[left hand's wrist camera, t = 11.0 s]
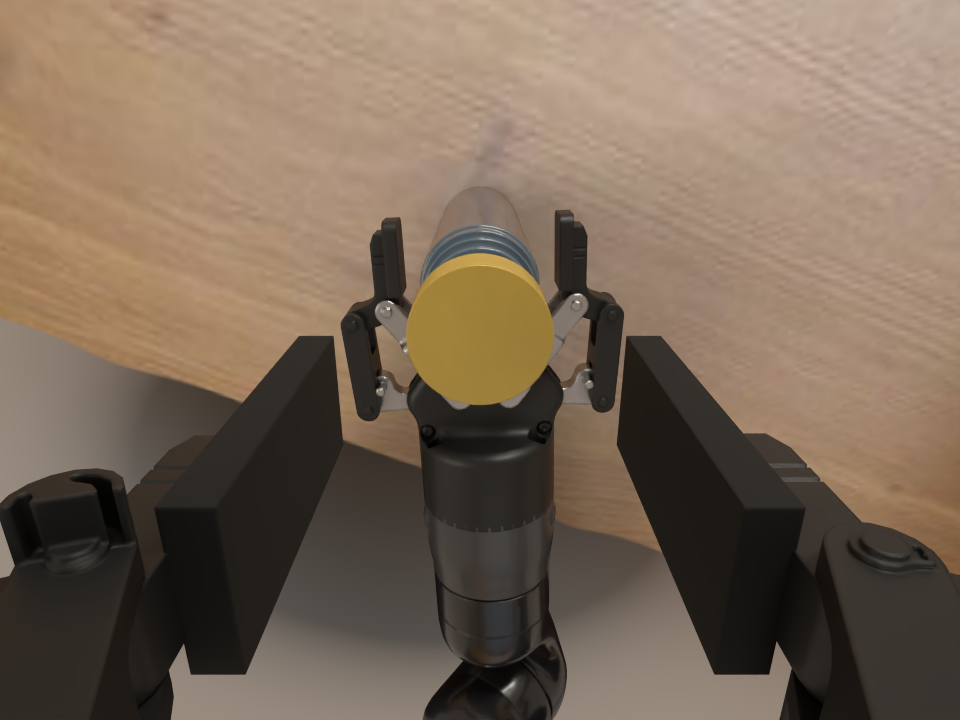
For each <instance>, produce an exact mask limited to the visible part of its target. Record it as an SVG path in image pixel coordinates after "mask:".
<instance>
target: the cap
mask: <svg viewBox="0 0 960 720" xmlns="http://www.w3.org/2000/svg"><path fill="white" fill-rule="evenodd" d="M406 343H407V349H408V353H409V356H410V359H411V361H412V364H413V366H414V368H415V369H416V371H417V372H418V374H419V375H420V377H421V378H422V379H423V380H424V381H425V382H426V383H427V384H428V385H429V386H430V387H431V388H432V389H434V390H435V391H436V392H438V393H439V394H441V395H443V396H445V397H447V398H449V399H451V400H454V401H457V402H460V403H464V404H471V405H489V404H495V403H500V402H503V401H506V400H509V399H511V398H513V397H515V396H517V395H519V394H521V393H522V392H524V391H525V390H527V389H528V388H529V387H530V386H531V385H532V384H533V383H534V382H535V381H536V380H537V379H538V378H539V377H540V375H541V374H542V372H543V371H544V369H545V368H546V366H547V364H548V362H549V359H550V356H551V353H552V349H553V344H554V326H553V321H552V316H551V314H550V311H549V308H548V305H547V303H546V300H545V297H544V294H543V292H542V290H541V288H540V287H539V285H538V283H537V282H536V281H535V279H534V278H533V277H532V276H531V275H530V274H529V273H528V272H527V271H526V270H525V269H524V268H522V267H521V266H520V265H518V264H516V263H515V262H513V261H511V260H509V259H506V258H504V257H501V256H497V255H492V254H483V253H476V254H467V255H463V256H459V257H456V258H454V259H451V260H449V261H447V262H445V263H443V264H442V265H440V266H439V267H438V268H436V269H435V270H434V271H433V272H432V273H431V274H430V275H429V276H428V277H427V278H426V279H425V281H424V282H423V283H422V285H421V287H420V288H419V290H418V292H417V295H416V297H415V300H414V302H413V305H412V308H411V311H410V313H409V317H408V321H407V327H406Z"/></svg>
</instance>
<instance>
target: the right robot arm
mask: <svg viewBox="0 0 960 720" xmlns="http://www.w3.org/2000/svg"><path fill="white" fill-rule="evenodd" d="M370 252H371V262H372V271H373V281H374V291H375V295H374V297H373V298H371V299H369V300H366V301H364V302H357V303H355V304H353V305H352V307H351V308H350V310H349V311H348V312H347V314H346V315H345V317H344V318H343V320H342V322H341V330H342V336H343V341H344V346H345V351H346V357H347V362H348V367H349V373H350V378H351V383H352V388H353V394H354V399H355V404H356V410H357V414H358V416H359V417H360V418H361V419H363V420H365V421H373V420H375V419H376V418H377V417H378V416H379V413H380V412H383V411H394V410H405V409H409V410H410V411H411V413H412V414H413V415H414V417H415V419H416V421H417V424H418V428H419V439H420V451H421V463H422V475H423V487H424V499H425V507H424V520H425V524H426V526H427V534H428V540H429V545H430V549H431V553H432V557H433V561H434V568H435V581H436V593H437V605H438V616H439V622H440V627H441V631H442V634H443V637H444V639H445V641H446V643H447V645H448V647H449V648H450V649H451V651H452V652H453V653H454V654H455V655H456V656H457V657H459V658H460V659H462V660H463V662H462V663H461V664H460V665H459V666H458V668H457V669H456V670H455V671H454V672H453V673H452V675H451V676H450V677H449V678H448V679H447V680H446V682H445V683H444V684H443V685H442V686H441V687H440V688H439V690H438V691H437V692H436V693H435V694H434V696H433V697H432V698H431V700H430V702H429V703H428V705H427V707H426V709H425V712H424V716H423V720H553V719H554V717H555V715H556V714H557V712H558V710H559V708H560V706H561V703H562V700H563V697H564V693H565V688H566V679H567V668H566V662H565V658H564V655H563V652H562V648H561V645H560V642H559V639H558V635H557V632H556V629H555V625H554V623H553V620H552V618H551V615H550V613H549V610H548V609H549V557H550V550H551V545H552V538H553V523H554V520H555V505H554V499H553V496H554V419H555V416H556V413H557V411H558V409H559V408H560V406H561V405H562V404H591V405H592V407H593V408H594V410H596V411H597V412H601V413H604V412H607V411H609V410H611V409H612V407H613V406H614V402H615V393H616V383H617V374H618V365H619V356H620V347H621V338H622V329H623V320H624V312H623V310H622V308H621V307H620V306H619V305H618V304H617V303H616V302H615V299H614V298H613V297H612V295H611V294H609V293H606V292H601V293H600V292H597V291H594V290H591V289H589V288H587V286H586V272H587V234H586V231H585V229H584V226H583V225H582V224H581V223H580V222H574V215H573V213H572V212H571V211H570V210H556V211H555V283H556V285H557V287H558V289H559V290H558V291H557V293H556V294H555V295H554V297H553V298H552V299H551V300H550V302H549V303H548V304H547V305H548V308H549V311H550V314H551V316H552V321H553V326H554V344H553V349H552V353H551V356H550V359H549V362H548V364H549V363H550V361H551V360H552V359H553V358H554V356H555V355H556V354H557V353H558V351H559V350H560V349H561V347H562V346H563V344H564V341H565V338H566V337H567V335H568V334H569V333H570V331H571V330H572V329H573V328H574V326H575V325H576V324H577V323H578V321H579V320H580V319H581V318H582V317H584V318H587V319H590V330H589V341H588V352H587V363H582V364H580V365H578V366H577V367H576V368H575V370H574V373H573V376H572V377H571V378H570V379H569V380H568V381H565V382H560V379H559V377H558V376H557V375H556V374H555V372H554V371H553V370H552V369H551V367H550V366H549V365H548V364H547V366H546V368H545V369H544V371H543V372H542V374H541V375H540V377H539V378H538V379H537V380H536V381H535V382H534V383H533V384H532V385H531V386H530V387H529V388H528V389H527V390H525V391H524V392H522V393H521V394H519V395H517V396H515V397H513V398H511V399H509V400H506V401H503V402H500V403H495V404H489V405H471V404H464V403H460V402H457V401H454V400H451V399H449V398H447V397H445V396H443V395H441V394H439V393H438V392H436V391H435V390H434V389H432V388H431V387H430V386H429V385H428V384H427V383H426V382H425V381H424V380H423V379H422V378H421V377H420V375H419V374H418V373H417V374H416V376H415V377H414V378H413V380H412V381H411V383H410V386H409V387H407V388H406V387H402V386H400V385H399V384H398V383H397V382H396V379H395V377H394V375H393V374H392V373H391V372H389V371H386V370H382V367H381V361H380V355H379V349H378V343H377V337H376V331H375V327H378V326H380V325H383V326H384V327H385V328H386V329H387V330H388V331H389V332H390V333H391V334H392V336H393V337H394V338H395V339H396V340H397V341H398V342H399V343H400V345H401V348H402V350H403V351H404V353H405V354H406V355H407V356H408V357H409V359H410V356H409V353H408V349H407V343H406V327H407V321H408V317H409V313H410V311H411V308H412V304H411V303H410V302H409V301H408V300H407V298H406V297H405V296H404V295H403V293H404V291H405V289H406V276H405V264H404V252H403V240H402V228H401V220H400V217H397V218H385V219H384V220H383V221H382V225H381V230H377V231H376V232H375V233H374V234H373V236H372V240H371V243H370ZM410 360H411V359H410Z"/></svg>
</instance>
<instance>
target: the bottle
mask: <svg viewBox="0 0 960 720" xmlns="http://www.w3.org/2000/svg"><path fill="white" fill-rule="evenodd" d="M476 253H483V254H492V255H497V256H501V257H504V258H506V259H509V260H511V261H513V262H515V263H516V264H518V265H520V266H521V267H522V268H524V269H525V270H526V271H527V272H528V273H529V274H530V275H531V276H532V277H533V278H534V279H535V281H536V282H537V283H538V285H539V273H538V268H537V265H536V262H535V259H534V257H533V254H532V252H531V249H530V247H529V244H528V242H527V239H526V237H525V234H524V232H523V229H522V227H521V224H520V222H519V219H518V217H517V214H516V212H515V209H514V207H513V205H512V204H511V202H510V201H509V200H508V199H507V198H506V197H505V196H504V195H503V194H501V193H500V192H498V191H496V190H494V189H491V188H487V187H473V188H469V189H466V190H464V191H462V192H460V193H459V194H457V195H456V196H455V197H454V198H453V199H452V200H451V201H450V202H449V204H448V206H447V207H446V209H445V212H444V214H443V217H442V219H441V222H440V224H439V227H438V229H437V232H436V234H435V237H434V239H433V242H432V244H431V247H430V249H429V252H428V254H427V257H426V259H425V262H424V264H423V268H422V272H421V285H422V283H423V282H424V281H425V279H426V278H427V277H428V276H429V275H430V274H431V273H432V272H433V271H434V270H435V269H436V268H438V267H439V266H440V265H442V264H443V263H445V262H447V261H449V260H451V259H454V258H456V257H459V256H463V255H467V254H476Z"/></svg>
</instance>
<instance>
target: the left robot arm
mask: <svg viewBox="0 0 960 720" xmlns="http://www.w3.org/2000/svg"><path fill="white" fill-rule="evenodd" d="M342 446H343V438H342V426H341V415H340V404H339V393H338V382H337V370H336V359H335V348H334V337H333V336H299V337H298V338H297V339H296V340H295V342H294V343H293V344H292V345H291V346H290V348H289V349H288V350H287V351H286V352H285V353H284V355H283V356H282V357H281V358H280V359H279V361H278V362H277V363H276V364H275V365H274V366H273V368H272V369H271V370H270V371H269V372H268V374H267V375H266V376H265V377H264V378H263V379H262V381H261V382H260V383H259V384H258V385H257V387H256V388H255V389H254V390H253V391H252V392H251V394H250V395H249V396H248V397H247V398H246V400H245V401H244V402H243V403H242V404H241V405H240V407H239V408H238V409H237V410H236V411H235V413H234V414H233V415H232V416H231V417H230V418H229V420H228V421H227V422H226V423H225V424H224V426H223V427H222V428H221V429H220V430H219V431H218V433H217V434H216V435H215V436H193V437H191V438H190V439H188V440H186V441H184V442H183V443H181V444H179V445H177V446H176V447H174V448H172V449H170V450H169V451H168V452H167V453H166V454H165V455H164V456H163V457H162V458H161V460H160V461H159V462H158V463H157V464H156V465H155V466H154V470H150V471H149V472H148V473H147V474H146V475H145V476H144V477H143V478H142V480H141V483H140V484H137V485H136V486H135V487H134V488H133V489H132V490H131V491H130V492H129V493H128V494H127V493H126V489H125V485H124V481H123V477H121V476H120V475H118V474H117V473H115V472H114V471H109V470H103V469H97V468H96V469H80V470H73V471H68V472H63V473H59V474H55V475H51V476H48V477H45V478H43V479H40V480H37V481H35V482H32V483H30V484H27V485H26V486H24V487H22V488H20V489H19V490H17V491H15V492H13V493H12V494H10V495H8V496H7V497H6V498H5V499H4V500H3V501H2V502H1V503H0V522H1V525H2V528H3V531H4V534H5V537H6V540H7V543H8V546H9V549H10V552H11V555H12V558H13V561H14V565H15V567H14V569H13V570H12V572H11V574H10V576H8V577H4V578H0V720H171V713H172V706H173V698H174V695H173V688H172V682H171V678H170V674H169V669H170V667H171V665H172V663H173V661H174V660H175V658H176V656H177V655H178V653H179V651H180V649H181V648H182V646H183V644H184V646H185V650H186V655H187V659H188V664H189V668H190V672H191V674H192V675H245V674H246V672H247V670H248V668H249V665H250V663H251V660H252V658H253V656H254V653H255V651H256V649H257V646H258V644H259V642H260V639H261V637H262V635H263V632H264V630H265V627H266V625H267V623H268V620H269V618H270V616H271V613H272V611H273V609H274V606H275V604H276V602H277V599H278V597H279V595H280V592H281V590H282V587H283V585H284V583H285V580H286V578H287V576H288V573H289V571H290V569H291V566H292V564H293V562H294V559H295V557H296V555H297V552H298V550H299V547H300V545H301V543H302V540H303V538H304V536H305V533H306V531H307V528H308V526H309V524H310V521H311V519H312V517H313V514H314V512H315V510H316V507H317V505H318V503H319V500H320V498H321V496H322V493H323V491H324V489H325V486H326V484H327V482H328V479H329V477H330V474H331V472H332V470H333V467H334V465H335V463H336V460H337V458H338V456H339V453H340V451H341V449H342ZM617 446H618V449H619V451H620V453H621V456H622V458H623V460H624V463H625V465H626V467H627V470H628V472H629V474H630V477H631V479H632V482H633V484H634V486H635V489H636V491H637V493H638V496H639V498H640V500H641V503H642V505H643V507H644V510H645V512H646V515H647V517H648V519H649V522H650V524H651V526H652V529H653V531H654V533H655V536H656V538H657V540H658V543H659V545H660V547H661V550H662V552H663V555H664V557H665V559H666V562H667V564H668V566H669V569H670V571H671V573H672V576H673V578H674V580H675V583H676V585H677V587H678V590H679V592H680V594H681V597H682V599H683V602H684V604H685V606H686V609H687V611H688V613H689V616H690V618H691V620H692V623H693V625H694V627H695V630H696V632H697V634H698V637H699V639H700V642H701V644H702V646H703V649H704V651H705V653H706V656H707V658H708V660H709V663H710V665H711V668H712V670H713V672H714V674H715V675H769V673H770V668H771V664H772V659H773V655H774V650H775V646H776V641H777V643H778V644H779V646H780V648H781V649H782V651H783V653H784V655H785V656H786V658H787V660H788V662H789V663H790V665H791V667H792V670H791V674H790V678H789V682H788V686H787V691H786V695H785V699H784V703H783V707H782V712H781V716H780V720H960V575H956V574H952V573H949V571H948V569H947V567H946V565H945V564H944V563H943V562H942V561H941V559H940V558H939V557H938V556H937V555H936V554H935V552H934V551H932V550H931V549H929V548H928V547H927V546H925V545H924V544H922V543H921V542H919V541H918V540H916V539H915V538H912V537H910V536H908V535H906V534H903V533H901V532H899V531H896V530H894V529H891V528H887V527H884V526H880V525H876V524H872V523H863V522H861V521H860V520H859V519H858V518H857V516H856V515H855V514H854V513H853V512H852V511H851V510H850V509H849V508H848V507H847V506H846V505H845V504H844V503H843V502H842V501H841V500H840V499H839V498H838V497H837V496H836V495H835V493H834V492H833V491H832V490H831V489H830V488H829V487H828V486H827V485H826V484H825V483H824V482H820V478H819V477H818V476H817V475H816V474H815V473H814V471H813V470H812V469H811V468H807V464H806V463H805V462H804V461H803V460H802V459H801V458H800V457H799V456H798V455H797V454H796V453H795V452H794V451H793V450H792V448H790V447H789V446H787V445H785V444H783V443H782V442H780V441H778V440H776V439H774V438H773V437H771V436H769V435H767V434H743V433H742V431H741V430H740V429H739V428H738V427H737V426H736V424H735V423H734V422H733V421H732V420H731V418H730V417H729V416H728V415H727V414H726V413H725V411H724V410H723V409H722V408H721V407H720V405H719V404H718V403H717V402H716V401H715V400H714V398H713V397H712V396H711V395H710V394H709V392H708V391H707V390H706V389H705V388H704V387H703V385H702V384H701V383H700V382H699V381H698V379H697V378H696V377H695V376H694V375H693V374H692V372H691V371H690V370H689V369H688V368H687V366H686V365H685V364H684V363H683V362H682V361H681V359H680V358H679V357H678V356H677V355H676V353H675V352H674V351H673V350H672V349H671V348H670V346H669V345H668V344H667V343H666V342H665V340H664V339H663V338H662V337H661V336H627V337H626V348H625V359H624V370H623V382H622V393H621V404H620V415H619V426H618V438H617Z"/></svg>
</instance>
